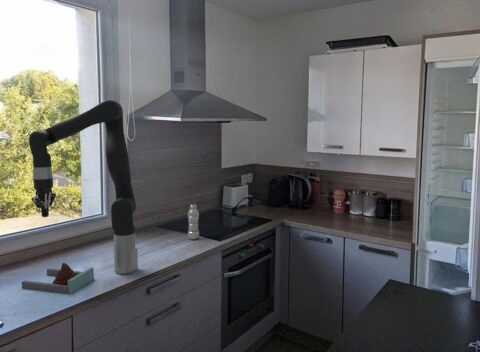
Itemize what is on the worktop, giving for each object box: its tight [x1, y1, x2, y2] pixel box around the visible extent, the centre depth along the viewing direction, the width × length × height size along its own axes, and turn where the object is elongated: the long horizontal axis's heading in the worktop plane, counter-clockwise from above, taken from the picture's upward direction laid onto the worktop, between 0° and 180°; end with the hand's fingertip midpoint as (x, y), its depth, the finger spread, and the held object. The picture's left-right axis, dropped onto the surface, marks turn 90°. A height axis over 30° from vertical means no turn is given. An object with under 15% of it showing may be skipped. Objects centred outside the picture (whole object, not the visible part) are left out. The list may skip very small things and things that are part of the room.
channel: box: [21, 267, 95, 294], centre depth 169 cm, size 22×16×5 cm
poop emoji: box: [52, 262, 76, 286], centre depth 167 cm, size 10×8×9 cm
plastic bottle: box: [187, 203, 200, 240], centre depth 233 cm, size 6×7×20 cm
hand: (45, 216), depth 179 cm, fingers closed
